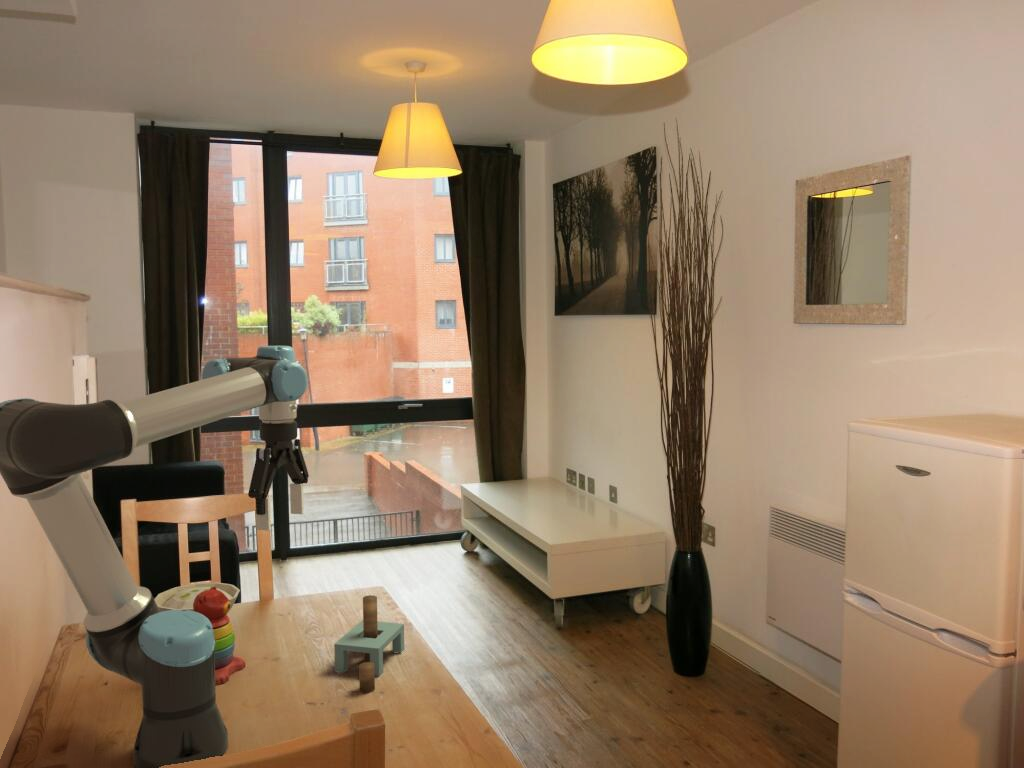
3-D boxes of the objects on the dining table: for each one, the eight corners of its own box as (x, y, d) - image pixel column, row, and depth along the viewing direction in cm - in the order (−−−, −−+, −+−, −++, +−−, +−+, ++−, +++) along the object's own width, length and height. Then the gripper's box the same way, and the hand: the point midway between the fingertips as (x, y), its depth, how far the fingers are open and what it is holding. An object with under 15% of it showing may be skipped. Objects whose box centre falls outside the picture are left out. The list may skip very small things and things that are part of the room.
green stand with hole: (379, 676, 174) (378, 648, 173) (335, 671, 176) (334, 643, 176) (404, 650, 187) (403, 623, 187) (362, 645, 190) (362, 619, 189)
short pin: (371, 693, 166) (370, 669, 166) (357, 691, 167) (356, 667, 166) (377, 687, 169) (376, 663, 169) (363, 685, 170) (362, 661, 169)
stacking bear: (222, 686, 170) (219, 600, 168) (176, 682, 172) (173, 597, 170) (249, 664, 180) (246, 583, 178) (206, 660, 182) (203, 580, 181)
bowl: (154, 624, 203) (152, 583, 202) (238, 612, 211) (236, 573, 210) (153, 654, 186) (152, 610, 185) (245, 640, 193) (243, 598, 192)
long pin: (374, 664, 180) (373, 600, 179) (361, 662, 181) (360, 599, 179) (380, 658, 183) (379, 595, 182) (367, 657, 184) (366, 594, 182)
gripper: (262, 429, 160) (265, 538, 162) (322, 413, 184) (325, 508, 186) (227, 428, 162) (231, 535, 164) (292, 412, 186) (294, 506, 188)
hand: (281, 521), depth 175 cm, fingers open, 13 cm apart
